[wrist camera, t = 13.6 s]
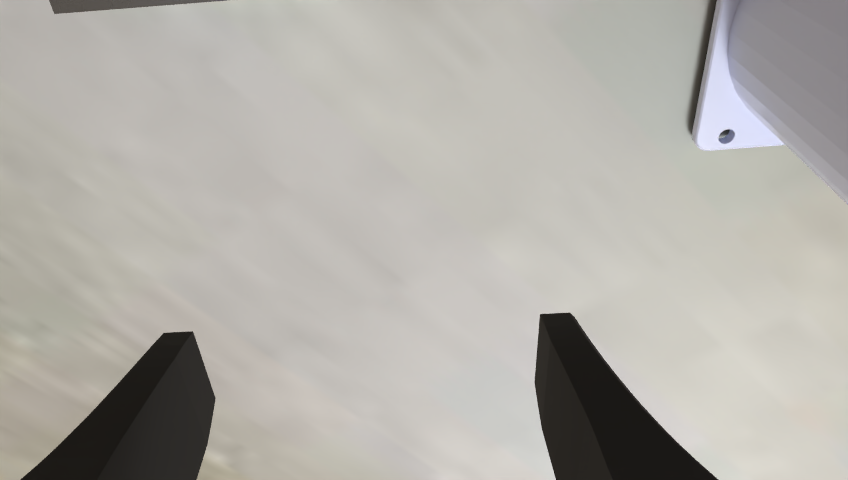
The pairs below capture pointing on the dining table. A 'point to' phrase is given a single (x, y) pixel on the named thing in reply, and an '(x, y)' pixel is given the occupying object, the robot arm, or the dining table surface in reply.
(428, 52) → the dining table surface
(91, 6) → the metal box with knob
